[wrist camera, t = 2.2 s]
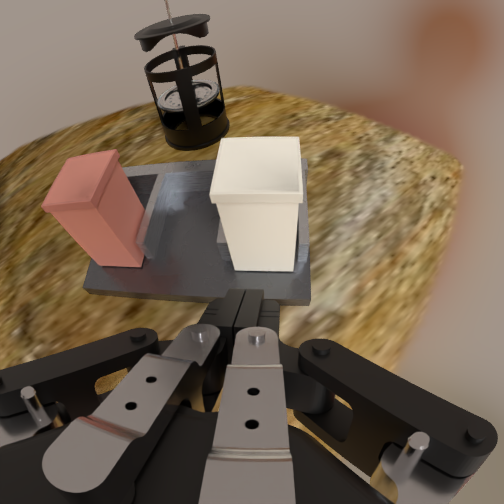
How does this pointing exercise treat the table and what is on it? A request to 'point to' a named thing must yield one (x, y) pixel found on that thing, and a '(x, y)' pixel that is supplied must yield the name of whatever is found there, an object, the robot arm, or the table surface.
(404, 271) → the table surface
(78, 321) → the table surface
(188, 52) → the french press
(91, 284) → the dark grey tray
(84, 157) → the pink boxy piece
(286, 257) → the white tall block
